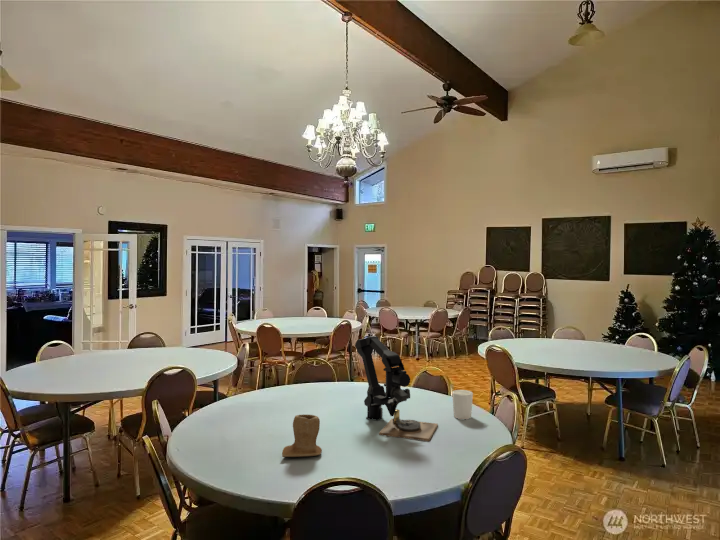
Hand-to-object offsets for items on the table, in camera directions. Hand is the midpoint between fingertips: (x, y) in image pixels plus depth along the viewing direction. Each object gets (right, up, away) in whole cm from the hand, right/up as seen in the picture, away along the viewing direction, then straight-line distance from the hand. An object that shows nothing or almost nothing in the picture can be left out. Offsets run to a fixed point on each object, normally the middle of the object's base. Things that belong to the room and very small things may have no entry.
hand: (391, 416), depth 211 cm
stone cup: (-37, -5, -31) cm, 48 cm away
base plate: (+8, -5, -4) cm, 10 cm away
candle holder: (+36, -5, +14) cm, 39 cm away
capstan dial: (+6, -4, -2) cm, 8 cm away
